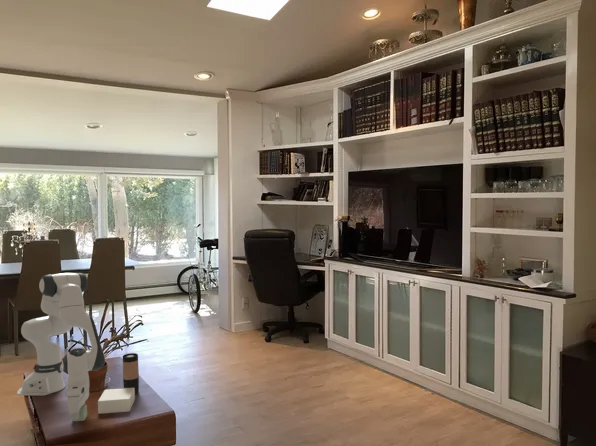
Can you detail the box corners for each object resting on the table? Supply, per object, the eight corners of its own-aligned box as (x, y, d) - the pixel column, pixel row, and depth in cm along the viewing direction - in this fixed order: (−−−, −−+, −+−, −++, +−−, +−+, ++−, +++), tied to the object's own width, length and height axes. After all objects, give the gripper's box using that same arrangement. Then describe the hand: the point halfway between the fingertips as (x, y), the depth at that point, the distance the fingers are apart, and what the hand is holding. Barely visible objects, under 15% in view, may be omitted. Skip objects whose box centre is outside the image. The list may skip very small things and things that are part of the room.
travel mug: (120, 395, 250) (119, 356, 249) (131, 389, 256) (130, 352, 256) (131, 397, 246) (129, 358, 245) (142, 392, 253) (141, 354, 252)
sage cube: (72, 421, 220) (72, 410, 220) (75, 416, 225) (75, 405, 225) (84, 420, 221) (83, 409, 221) (87, 415, 226) (86, 405, 226)
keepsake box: (98, 413, 228) (97, 401, 228) (105, 401, 242) (105, 389, 241) (129, 411, 230) (129, 398, 230) (134, 399, 244) (134, 387, 244)
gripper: (78, 377, 232) (79, 406, 233) (64, 394, 212) (65, 425, 212) (92, 376, 233) (93, 405, 234) (79, 393, 213) (80, 424, 213)
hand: (79, 415), depth 223 cm, fingers closed on sage cube, 5 cm apart
